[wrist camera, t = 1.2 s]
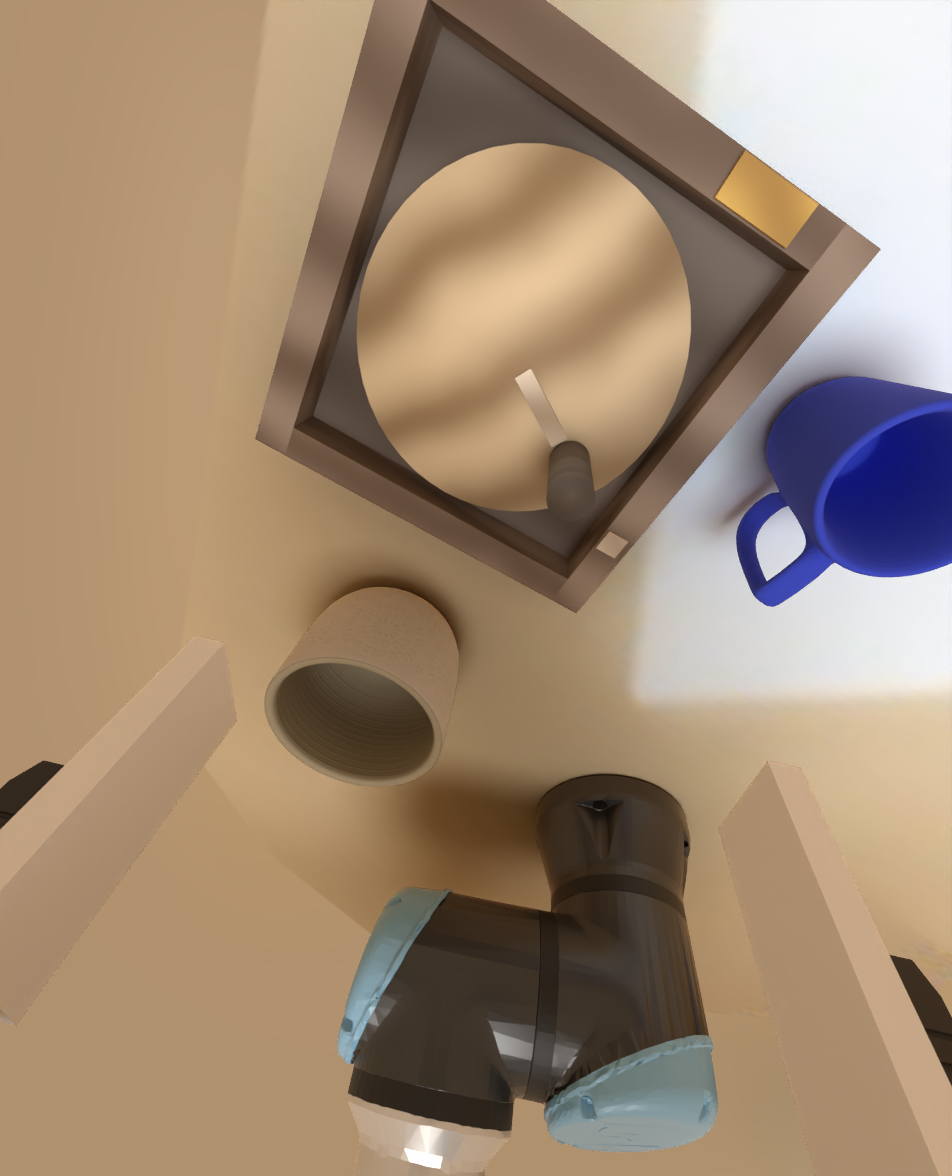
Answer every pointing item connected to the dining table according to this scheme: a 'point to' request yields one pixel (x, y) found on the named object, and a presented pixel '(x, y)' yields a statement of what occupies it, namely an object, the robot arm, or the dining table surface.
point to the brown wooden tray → (616, 138)
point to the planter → (368, 689)
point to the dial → (524, 328)
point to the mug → (857, 483)
